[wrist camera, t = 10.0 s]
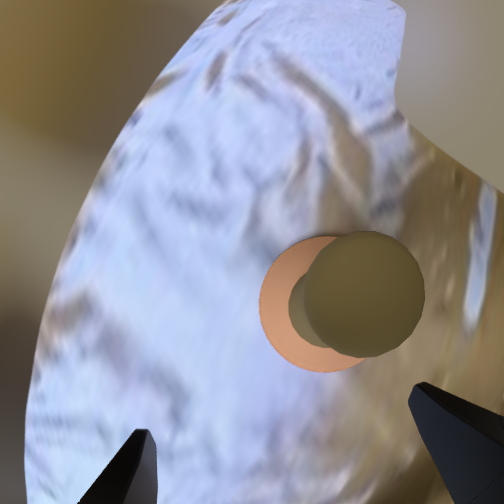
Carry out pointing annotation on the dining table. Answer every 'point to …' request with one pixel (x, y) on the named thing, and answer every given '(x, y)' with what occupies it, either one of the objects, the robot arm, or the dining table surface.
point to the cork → (359, 296)
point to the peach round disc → (277, 314)
